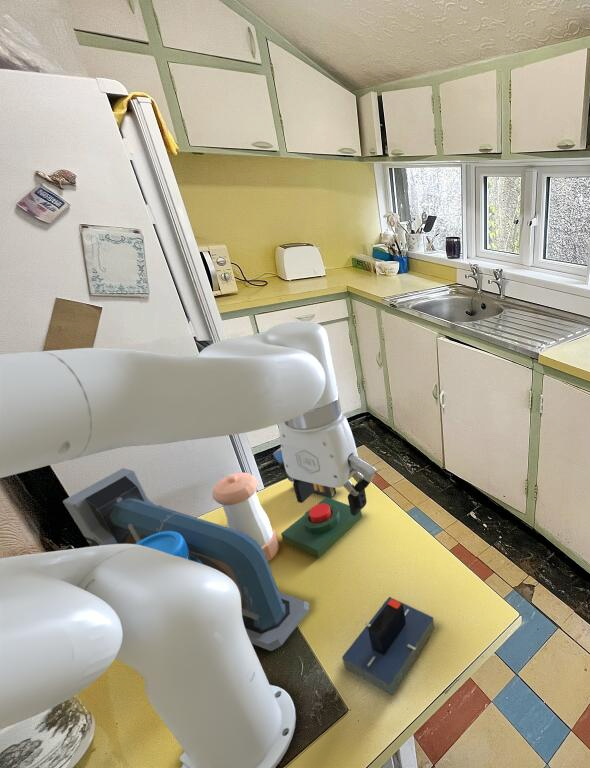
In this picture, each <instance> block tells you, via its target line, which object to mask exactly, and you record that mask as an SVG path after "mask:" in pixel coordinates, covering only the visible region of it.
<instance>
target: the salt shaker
mask: <svg viewBox="0 0 590 768" xmlns="http://www.w3.org/2000/svg"><path fill="white" fill-rule="evenodd" d="M258 487H259V481H258V479H257V478H256V476H254V475H253V474H251V473H249V472H236V473H232V474H228V475H227V476H225V477H224V476H223V478H221V479H220V480H218V481H217V483H216V484H215V485H214V487H213V488H212V492H211V494H212V500H214V501H215V502H216V503H217V504H218V505H221V506H222V509H223V511H224V514H225V516H226V521H227V527H228V528H231V529H234V530H237V531H240V532H243V533H245V534H247V535H249V536H250V537H251V538H253V539H254V540H255V541H256V542H257V543H258V544H259V545H260V546H261V548H262V550H263V552H264V554H265V556H266V559H267V561H268V562H269V561H270V560H272V559H273V558H274V557H275V556H276V555H277V553H278V552H279V549H280V543H279V540H278V537H277V534H276V531H275V529H274V528H272V526H271V521H270V519H269V516H268V515H267V513H266V511H265V510H264V508H263V507H262V505H261V502H260V501H259V498H258V494H257V490H258Z"/></svg>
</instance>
